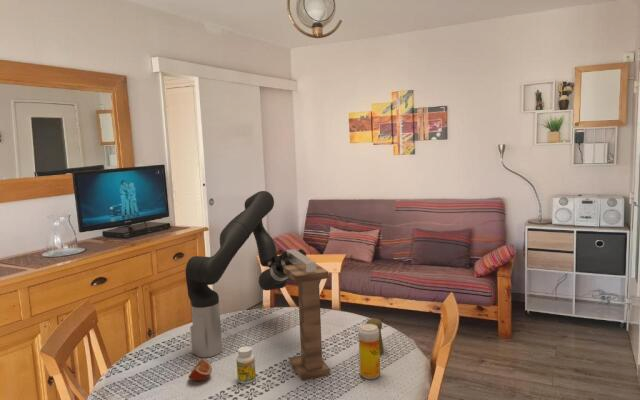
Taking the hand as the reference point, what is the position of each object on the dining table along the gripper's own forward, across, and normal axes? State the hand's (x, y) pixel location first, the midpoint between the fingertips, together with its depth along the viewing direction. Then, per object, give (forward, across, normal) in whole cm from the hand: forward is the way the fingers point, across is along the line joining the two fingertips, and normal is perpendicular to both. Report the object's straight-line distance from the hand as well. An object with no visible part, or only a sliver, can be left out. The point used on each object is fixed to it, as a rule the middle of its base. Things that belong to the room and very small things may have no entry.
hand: (294, 252), depth 152 cm
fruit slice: (-16, -32, +31) cm, 48 cm away
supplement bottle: (-10, -19, +34) cm, 41 cm away
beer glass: (+1, +15, +41) cm, 44 cm away
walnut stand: (-9, 0, +35) cm, 36 cm away
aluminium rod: (+4, 0, +5) cm, 6 cm away
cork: (-10, +24, +34) cm, 43 cm away
